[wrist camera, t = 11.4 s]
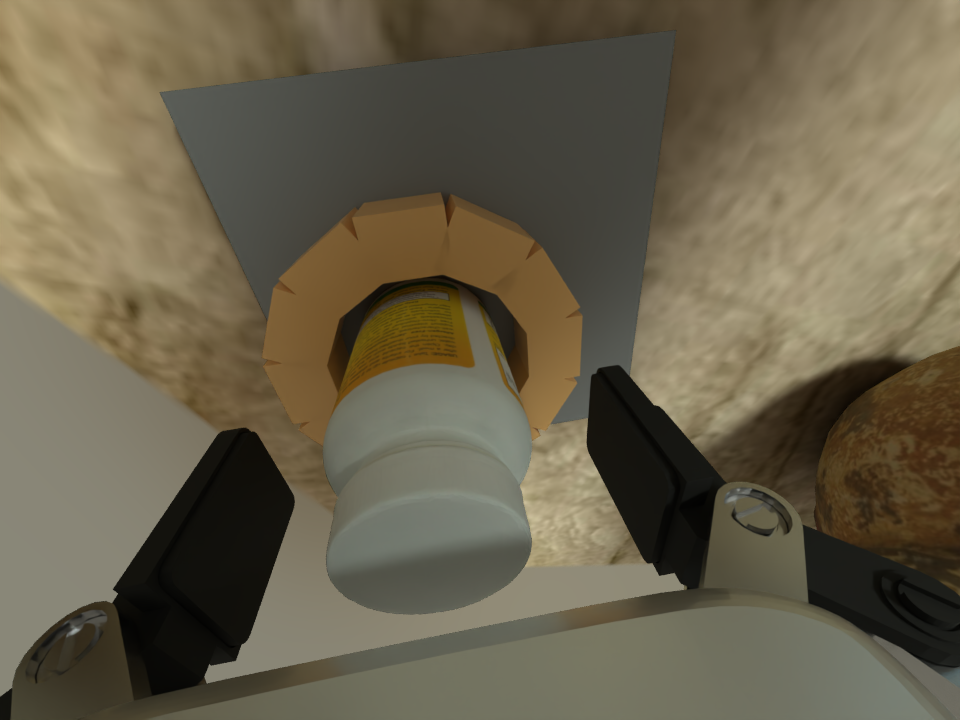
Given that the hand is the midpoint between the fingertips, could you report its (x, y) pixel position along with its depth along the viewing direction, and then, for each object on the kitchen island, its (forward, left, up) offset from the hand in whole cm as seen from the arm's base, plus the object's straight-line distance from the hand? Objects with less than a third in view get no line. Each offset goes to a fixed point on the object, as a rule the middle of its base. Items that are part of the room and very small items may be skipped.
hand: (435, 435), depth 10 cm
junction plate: (-2, -2, -7) cm, 7 cm away
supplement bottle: (0, 0, -6) cm, 6 cm away
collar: (0, 0, -7) cm, 7 cm away
